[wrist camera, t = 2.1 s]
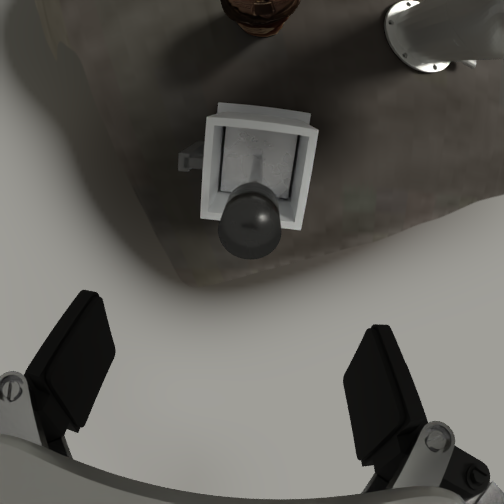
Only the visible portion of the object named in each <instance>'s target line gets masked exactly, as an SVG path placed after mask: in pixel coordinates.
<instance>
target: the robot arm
mask: <svg viewBox="0 0 504 504" xmlns="http://www.w3.org/2000/svg"><path fill="white" fill-rule="evenodd" d="M389 23H390V24H389ZM384 31H385V35H386V38H387V40H388V43H389V45H390V47H391V48H392V50H393V51H394V53H395V54H396V55H397V56H398V58H400V59H401V60H402V61H403V62H404V63H405V64H407V65H408V66H409V67H411V68H413V69H415V70H417V71H421V72H426V73H434V72H439V71H441V70H443V69H445V68H446V67H447V66H448V65H449V64H450V62H451V61H456V62H462V63H463V64H465V65H466V66H468V67H470V68H475V66H476V60H492V59H503V58H504V0H424V1H422V2H417V1H412V0H405V1H401V2H398V3H396V4H394V5H393V6H392V7H390V9H389V10H388V11H387V13H386V16H385V20H384ZM402 54H403V55H404V57H403V55H402ZM114 356H115V345H114V342H113V338H112V335H111V331H110V327H109V324H108V320H107V316H106V312H105V307H104V303H103V299H102V298H101V297H99V294H98V293H97V292H93V291H88V290H82V291H80V293H79V294H78V295H77V297H76V298H75V299H74V301H73V302H72V303H71V305H70V306H69V307H68V309H67V310H66V312H65V313H64V314H63V316H62V317H61V319H60V320H59V321H58V323H57V324H56V326H55V327H54V328H53V330H52V331H51V333H50V334H49V336H48V337H47V339H46V340H45V342H44V343H43V345H42V346H41V348H40V349H39V351H38V352H37V354H36V356H35V357H34V359H33V360H32V362H31V363H30V365H29V366H28V368H27V370H26V372H25V374H24V376H23V375H22V374H21V373H19V372H16V371H10V372H6V373H4V374H3V375H1V376H0V504H504V493H503V492H502V490H501V489H500V488H499V487H498V486H497V485H496V484H495V483H494V482H493V481H492V482H491V483H490V482H489V481H490V473H489V469H488V468H487V466H486V465H485V464H484V463H483V462H481V461H480V460H478V459H476V458H475V457H473V456H471V455H470V454H468V453H466V452H464V451H463V450H461V449H459V448H458V447H456V446H454V444H455V437H454V434H453V432H452V430H451V429H450V427H449V426H447V425H446V424H445V423H442V422H440V421H432V422H429V423H428V421H427V418H426V415H425V412H424V409H423V406H422V404H421V401H420V398H419V395H418V393H417V390H416V387H415V385H414V382H413V380H412V377H411V374H410V372H409V369H408V367H407V365H406V363H405V361H404V359H403V356H402V354H401V351H400V348H399V346H398V344H397V341H396V339H395V337H394V334H393V332H392V330H391V328H390V326H388V325H376V324H375V325H373V326H372V327H371V328H369V329H367V330H366V332H365V334H364V337H363V339H362V341H361V343H360V345H359V347H358V349H357V351H356V353H355V355H354V357H353V359H352V361H351V363H350V365H349V367H348V369H347V371H346V372H345V374H344V378H343V384H344V389H345V395H346V399H347V404H348V410H349V415H350V420H351V425H352V431H353V437H354V443H355V449H356V454H357V458H358V460H361V462H362V466H370V465H374V469H375V473H374V475H373V477H372V478H371V480H370V481H369V483H368V484H367V486H366V487H365V489H364V490H363V492H362V493H361V494H355V495H347V496H337V497H327V498H314V499H289V500H288V499H287V500H275V499H274V500H273V499H246V498H245V499H244V498H232V497H222V496H213V495H205V494H198V493H192V492H186V491H180V490H175V489H169V488H165V487H160V486H156V485H152V484H148V483H144V482H140V481H136V480H132V479H129V478H125V477H122V476H118V475H115V474H112V473H109V472H106V471H103V470H100V469H97V468H95V467H92V466H89V465H86V464H84V463H81V462H78V461H76V460H73V458H72V455H71V453H70V451H69V448H68V445H67V442H66V439H65V436H64V434H65V432H66V429H69V430H71V431H74V432H77V433H78V432H79V429H80V427H84V425H85V423H86V421H87V419H88V416H89V414H90V412H91V409H92V407H93V404H94V402H95V399H96V397H97V395H98V393H99V390H100V388H101V386H102V383H103V381H104V379H105V376H106V374H107V372H108V370H109V368H110V365H111V363H112V361H113V359H114Z"/></svg>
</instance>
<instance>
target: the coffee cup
mask: <svg viewBox="0 0 504 504" xmlns="http://www.w3.org/2000/svg"><path fill="white" fill-rule="evenodd" d="M300 1H301V0H221V4H222V8H223V10H224V12H225V13H226V15H227V16H229V18H231V19H232V20H234V21H236V22H237V23H238V25H239V26H240V27H241V28H242V29H243V30H244V31H245V32H247V33H248V34H250V35H253V36H258V37H269V36H271V35H275V34H277V33H278V32H279V30H280V29H282V27H283V24H284V22H285V21H286V20H287V19H288V18H289V16H290V15H291V14H293V12H294V11H295V9H296V8H297V7H298V5H299V4H300Z"/></svg>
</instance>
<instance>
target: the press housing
mask: <svg viewBox="0 0 504 504" xmlns="http://www.w3.org/2000/svg"><path fill="white" fill-rule="evenodd" d="M310 117H311V113H305V112H299V111H293V110H286V109H279V108H271V107H263V106H254V105H245V104H233V103H220V102H218V110H217V114H214V115H211V116H208V117H207V119H206V131H205V141H196V142H195V143H193V144H192V145H190V146H189V147H187V148H186V149H184V150H183V151H181V152H180V153H179V157H178V171H186V172H189V171H190V170H191V169H192V168H193V169H203V173H202V191H201V212H200V218H201V219H210V220H219V221H220V219H221V216H222V214H223V211H224V208H225V205H226V202H227V200H228V197H229V195H230V194H231V192H227V191H221V179H222V166H223V155H224V144H225V133H226V126H228V127H239V128H249V129H258V130H266V131H274V132H282V133H289V134H295V135H297V141H296V148H295V155H294V161H293V167H292V174H291V180H290V186H289V192H288V199H286V198H278V197H277V200H278V204H279V213H280V222H281V228H287V229H295V230H301V227H302V221H303V216H304V211H305V206H306V201H307V195H308V190H309V184H310V179H311V173H312V168H313V162H314V156H315V150H316V144H317V138H318V132H319V130H318V129H316V128H314V127H312V126H311V125H309V123H310Z"/></svg>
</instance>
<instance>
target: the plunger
mask: <svg viewBox="0 0 504 504" xmlns="http://www.w3.org/2000/svg"><path fill="white" fill-rule="evenodd" d="M296 141H297V135H295V134H289V133H282V132H274V131H266V130H258V129H249V128H239V127H228V126H226V133H225V144H224V155H223V166H222V179H221V191H227V192H231V194H230V195H229V197H228V200H227V202H226V205H225V208H224V211H223V214H222V216H221V219H220V222H219V226H218V234H219V238H220V241H221V243H222V245H223V246H224V247H225V249H226V250H227V251H229V252H230V253H231V254H233V255H235V256H237V257H239V258H243V259H258V258H262V257H264V256H266V255H268V254H269V253H271V252H272V251H273V250H274V249H275V248H276V247H277V245H278V243H279V241H280V238H281V222H280V213H279V204H278V200H277V197H278V198H286V199H288V192H289V186H290V180H291V174H292V167H293V161H294V155H295V148H296Z"/></svg>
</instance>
